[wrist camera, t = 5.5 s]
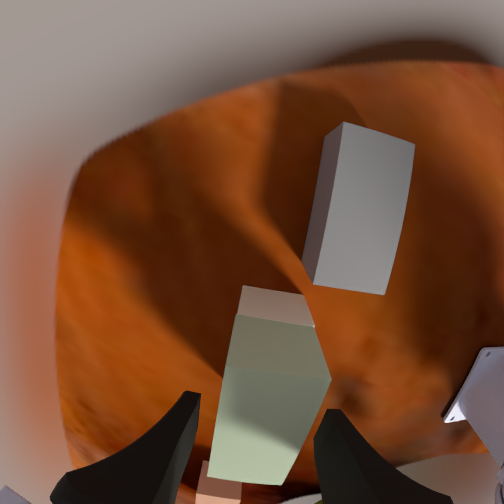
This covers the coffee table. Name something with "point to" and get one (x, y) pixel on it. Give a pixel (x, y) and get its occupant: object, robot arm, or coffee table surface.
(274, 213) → the coffee table surface
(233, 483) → the brick terracotta
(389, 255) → the brick charcoal
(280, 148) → the coffee table surface
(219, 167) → the coffee table surface
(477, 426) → the robot arm
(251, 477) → the brick sage
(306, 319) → the brick cream
